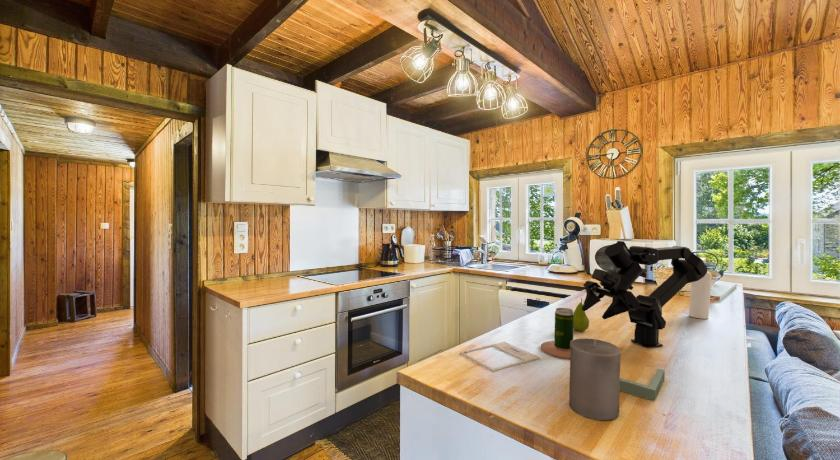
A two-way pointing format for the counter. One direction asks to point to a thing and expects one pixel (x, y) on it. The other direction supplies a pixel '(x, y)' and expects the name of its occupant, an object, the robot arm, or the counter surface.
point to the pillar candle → (594, 379)
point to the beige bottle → (700, 296)
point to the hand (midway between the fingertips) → (592, 314)
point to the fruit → (580, 318)
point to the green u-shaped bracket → (644, 386)
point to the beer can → (563, 328)
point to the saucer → (554, 350)
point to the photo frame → (508, 349)
